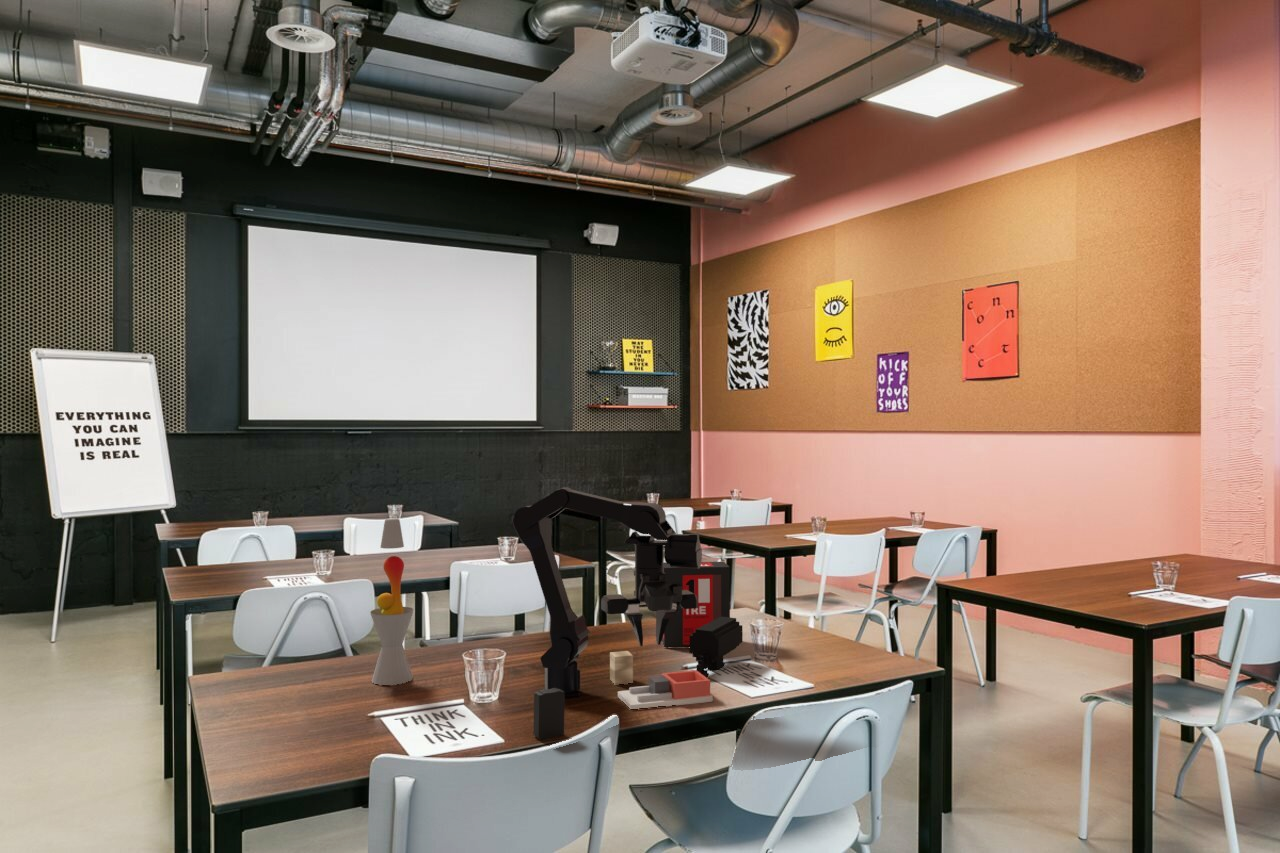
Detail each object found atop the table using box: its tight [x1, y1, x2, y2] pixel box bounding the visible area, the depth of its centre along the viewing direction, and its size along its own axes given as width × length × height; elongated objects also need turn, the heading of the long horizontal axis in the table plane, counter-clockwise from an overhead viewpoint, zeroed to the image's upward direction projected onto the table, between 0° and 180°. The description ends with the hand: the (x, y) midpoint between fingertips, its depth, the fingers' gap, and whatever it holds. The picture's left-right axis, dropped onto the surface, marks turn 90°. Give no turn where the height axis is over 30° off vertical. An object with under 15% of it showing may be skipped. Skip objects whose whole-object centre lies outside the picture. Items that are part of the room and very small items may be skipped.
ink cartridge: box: [532, 688, 566, 741], centre depth 145 cm, size 5×2×8 cm, turn 121°
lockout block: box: [609, 650, 634, 686], centre depth 177 cm, size 4×4×6 cm
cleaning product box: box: [661, 561, 731, 648], centre depth 210 cm, size 16×9×20 cm, turn 94°
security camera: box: [689, 617, 744, 679], centre depth 186 cm, size 7×18×10 cm, turn 152°
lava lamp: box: [369, 517, 415, 686], centre depth 179 cm, size 9×9×35 cm
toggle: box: [648, 675, 670, 694], centre depth 165 cm, size 3×4×3 cm
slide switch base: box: [617, 669, 714, 710], centre depth 165 cm, size 17×9×4 cm, turn 107°
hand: (649, 645), depth 164 cm, fingers open, 3 cm apart
